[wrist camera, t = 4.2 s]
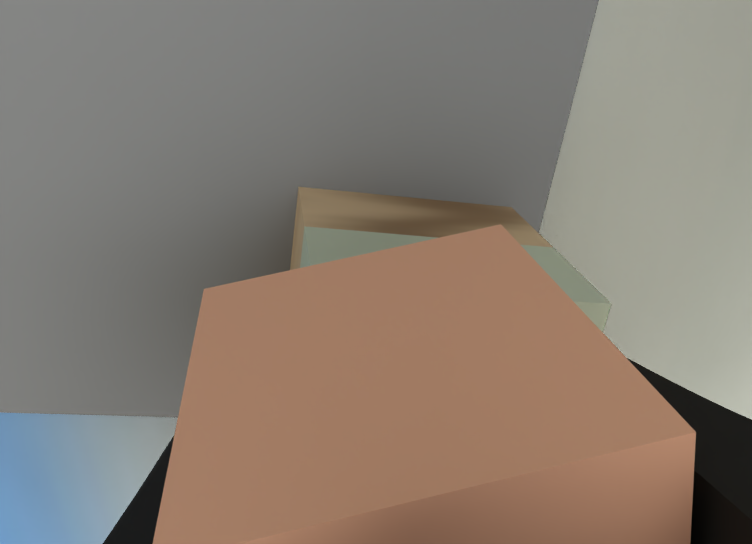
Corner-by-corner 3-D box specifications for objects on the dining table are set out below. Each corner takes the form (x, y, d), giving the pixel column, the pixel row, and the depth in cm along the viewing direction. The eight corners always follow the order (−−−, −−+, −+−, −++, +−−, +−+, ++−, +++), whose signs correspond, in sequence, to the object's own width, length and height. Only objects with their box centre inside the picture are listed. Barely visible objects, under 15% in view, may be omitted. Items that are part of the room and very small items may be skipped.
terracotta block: (501, 224, 10) (695, 431, 5) (522, 455, 12) (679, 750, 7) (203, 288, 10) (148, 565, 5) (275, 514, 12) (281, 860, 7)
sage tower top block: (553, 247, 16) (611, 303, 13) (498, 447, 18) (539, 530, 16) (304, 226, 15) (312, 283, 12) (281, 443, 17) (283, 531, 14)
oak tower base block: (511, 207, 19) (553, 247, 16) (469, 386, 21) (498, 447, 18) (298, 186, 17) (304, 226, 15) (278, 378, 20) (281, 443, 17)
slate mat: (662, -284, 15) (674, -292, 14) (484, 416, 22) (488, 425, 22) (-216, -515, 11) (-236, -534, 11) (-78, 399, 19) (-87, 410, 18)
